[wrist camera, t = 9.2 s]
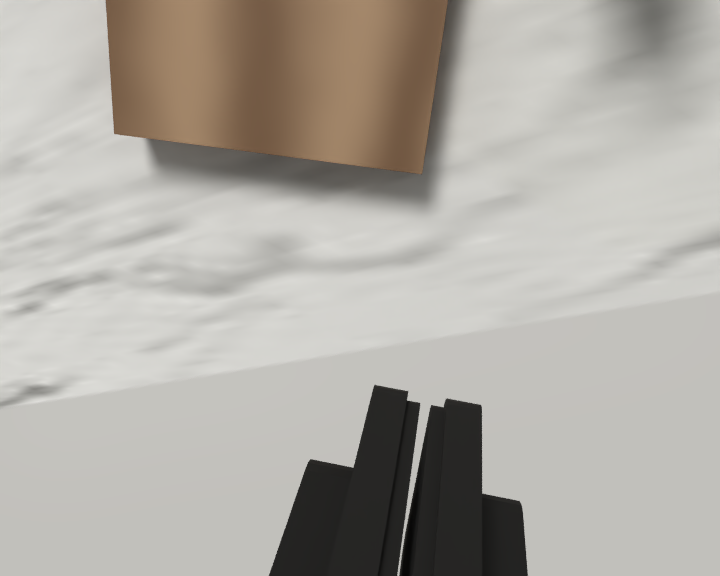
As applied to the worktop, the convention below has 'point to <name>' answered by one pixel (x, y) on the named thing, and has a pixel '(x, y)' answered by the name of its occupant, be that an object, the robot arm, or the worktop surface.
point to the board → (280, 76)
